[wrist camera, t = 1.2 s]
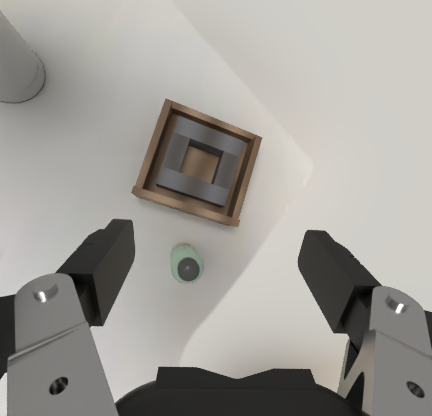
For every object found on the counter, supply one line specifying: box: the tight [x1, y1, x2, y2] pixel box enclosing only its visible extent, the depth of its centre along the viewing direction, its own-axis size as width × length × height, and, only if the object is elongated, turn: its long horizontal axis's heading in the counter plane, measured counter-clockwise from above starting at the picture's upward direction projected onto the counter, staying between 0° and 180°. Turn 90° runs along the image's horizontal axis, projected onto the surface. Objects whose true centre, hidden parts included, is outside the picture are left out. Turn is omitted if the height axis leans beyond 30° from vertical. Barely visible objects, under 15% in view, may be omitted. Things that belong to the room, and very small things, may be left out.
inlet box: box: [131, 99, 262, 227], centre depth 36 cm, size 16×16×6 cm
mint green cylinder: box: [171, 243, 204, 284], centre depth 32 cm, size 4×4×12 cm
